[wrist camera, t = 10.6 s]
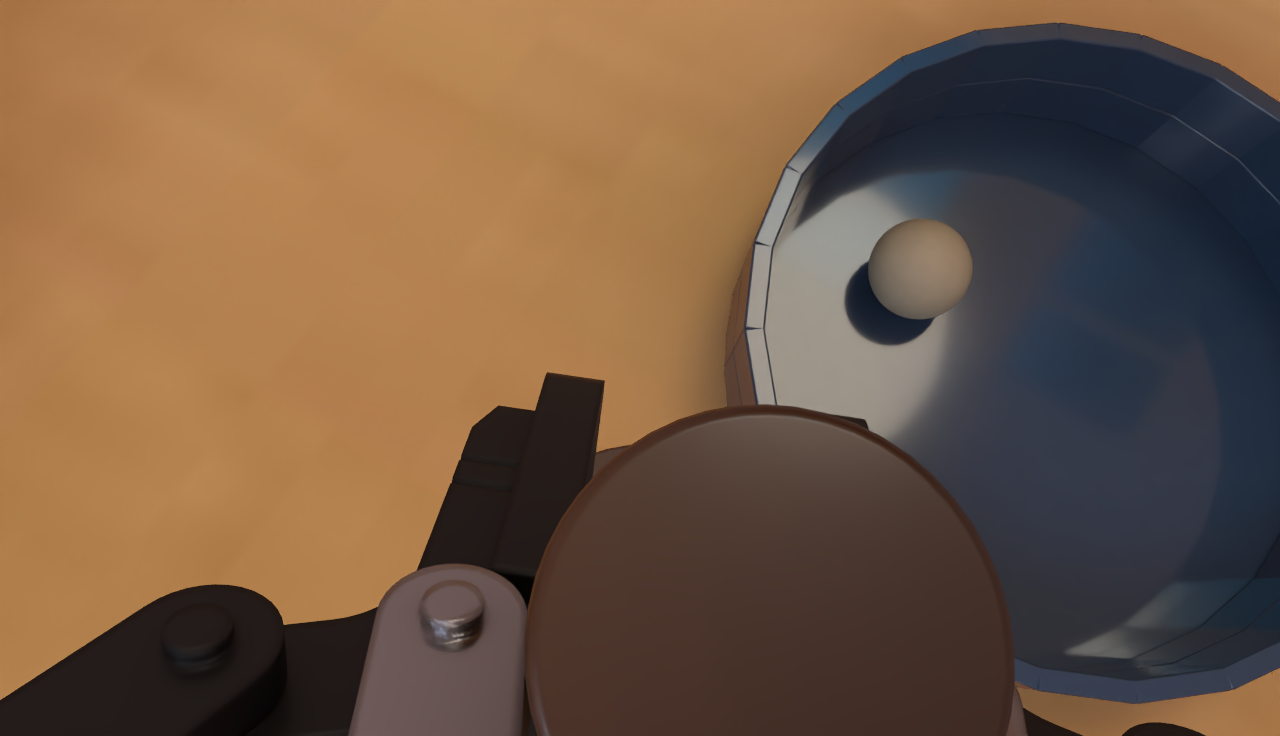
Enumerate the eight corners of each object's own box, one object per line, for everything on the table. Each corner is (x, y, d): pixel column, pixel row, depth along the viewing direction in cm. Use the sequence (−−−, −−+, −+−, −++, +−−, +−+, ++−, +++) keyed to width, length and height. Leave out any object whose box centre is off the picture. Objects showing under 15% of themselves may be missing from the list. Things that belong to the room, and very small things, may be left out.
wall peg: (448, 776, 17) (-8, 1277, 4) (509, 434, 18) (311, 32, 6) (794, 826, 17) (1401, 1476, 4) (826, 481, 18) (1343, 185, 6)
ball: (853, 324, 32) (880, 293, 29) (860, 234, 33) (887, 195, 30) (949, 337, 32) (986, 308, 29) (954, 247, 33) (991, 210, 30)
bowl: (690, 639, 30) (707, 645, 25) (756, 73, 35) (782, -18, 30) (1321, 726, 30) (1465, 749, 25) (1299, 149, 35) (1417, 72, 30)
